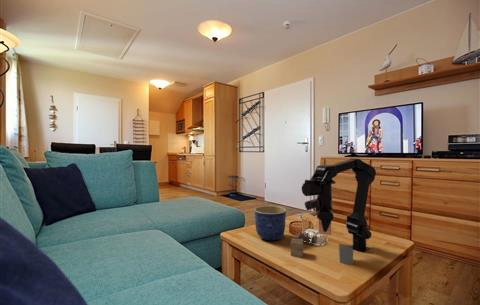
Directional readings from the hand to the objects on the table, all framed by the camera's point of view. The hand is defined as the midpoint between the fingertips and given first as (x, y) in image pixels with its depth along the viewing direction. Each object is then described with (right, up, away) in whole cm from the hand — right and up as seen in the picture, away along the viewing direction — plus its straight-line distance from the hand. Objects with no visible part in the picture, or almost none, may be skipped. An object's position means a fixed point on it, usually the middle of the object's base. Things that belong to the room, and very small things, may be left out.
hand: (324, 229), depth 100 cm
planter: (-21, -12, +23) cm, 33 cm away
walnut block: (-12, -12, +3) cm, 17 cm away
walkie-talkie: (-4, -13, +19) cm, 23 cm away
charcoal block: (+7, -12, -4) cm, 15 cm away
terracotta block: (0, -1, 0) cm, 1 cm away
